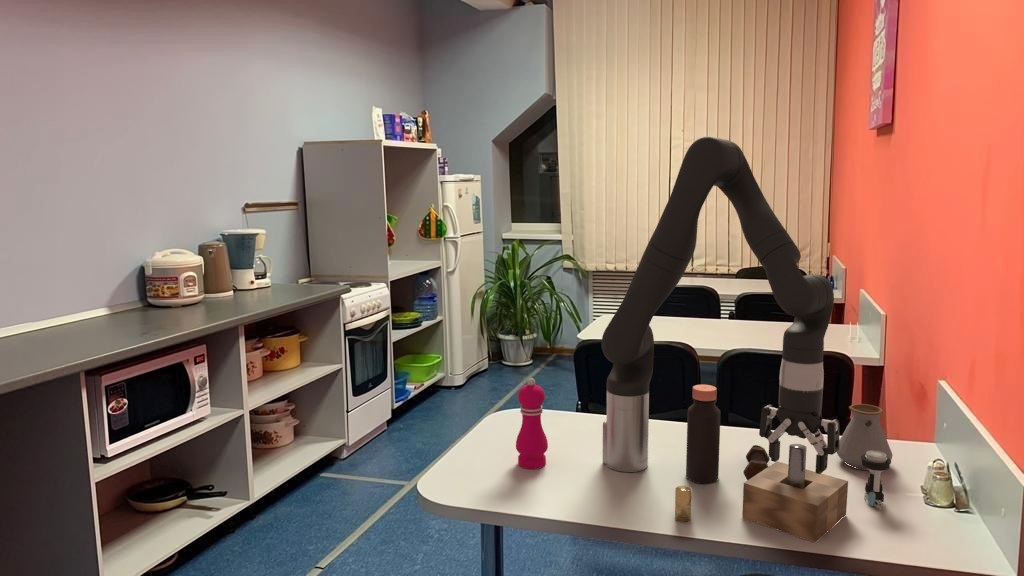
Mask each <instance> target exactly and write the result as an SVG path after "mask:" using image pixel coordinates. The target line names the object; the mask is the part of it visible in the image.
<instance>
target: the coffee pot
mask: <svg viewBox="0 0 1024 576" xmlns="http://www.w3.org/2000/svg"><path fill="white" fill-rule="evenodd" d="M848 409H849V410H850V412H851V413H852V417H851V419H850V420H849V422H848V425H847V426H846V428H845V430H844V432H843V433H842V435H841V437H839V450H838V451H837V452H836V454H837V456H838V457H839V459H840V460H842V462H843V463H844V462H846V463H847V464H849V465H851V466H853V467H856V468H858V469H857V470H860V469H862V470H861V471H868V472H870V470H868V469H867V468H866V467H864V466H863V465H862V460H861V456H862V455H863V454H866V452H867V451H871V450H874V451H880V452H883V453H885V454H886V457H888V458H890V459H891V460H893V451H892V449H891V447H890V444H889V442H888V440H887V436H886V434H885V432H884V429H883V427H882V424H881V421H880V416H881V414H882V413H883V409H882V408H881V407H879V406H876V405H872V404H866V403H855V404H852V405H850V406H848ZM856 468H855V469H856Z"/></svg>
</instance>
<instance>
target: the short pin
mask: <svg viewBox="0 0 1024 576" xmlns="http://www.w3.org/2000/svg"><path fill="white" fill-rule="evenodd" d="M692 494H693V489H692V488H691V487H689V486H687V485H677V486H676V487H675V494H674V495H675V496H674V499H675V500H674V520H675V521H676V522H677V523H678V522H679V523H681V524H682V523H683V524H685V523H686V524H687V523H689V522H691V521H692V499H693V498H692Z"/></svg>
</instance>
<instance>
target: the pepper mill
mask: <svg viewBox="0 0 1024 576" xmlns="http://www.w3.org/2000/svg"><path fill="white" fill-rule="evenodd" d="M526 382H527V384H525V385H522V387H521V388H520V389H519V390H518V393H517V400H518V403H519V404H521V405H520V410H519V411H520V414H521V416H522V421H521V426H520V430H519V431H518V434H517V437H516V440H515V449H516V451H517V452H518V454H519V455H517V463H518V466H519V467H520V468H523V469H525V470H538V469H541V468H543V467H546V466H545V465H546V464H547V456H546V455H545V454H546V452H547V451H548V449H549V446H548V445H549V444H548V438H547V435H546V433H545V431H544V428H543V424H542V418H541V417H542V413H543V411H544V410H543V405H542V404H543V403H544V402H545V399H546V396H545V395H546V393H545V391H544V388H542V387H541V386H540V385H537V384H536V379H534V378H533V377H530V378H528V379H527V381H526Z"/></svg>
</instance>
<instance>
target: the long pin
mask: <svg viewBox="0 0 1024 576" xmlns="http://www.w3.org/2000/svg"><path fill="white" fill-rule="evenodd" d="M788 449H789V451H788V463H787V464H788V484H787V485H790V486H793V487H796V488H800V489H804V486H805V469H806V466H807V465H806V463H807V446H805V445H804V444H801V443H791V444H789V446H788Z"/></svg>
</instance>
